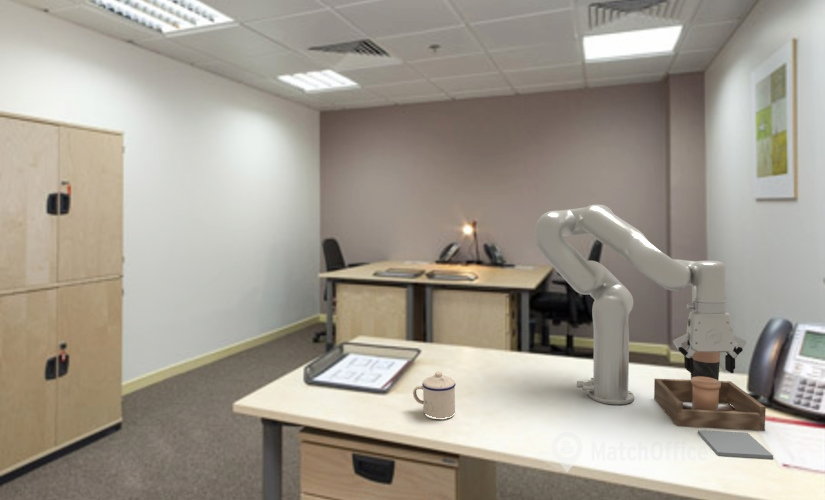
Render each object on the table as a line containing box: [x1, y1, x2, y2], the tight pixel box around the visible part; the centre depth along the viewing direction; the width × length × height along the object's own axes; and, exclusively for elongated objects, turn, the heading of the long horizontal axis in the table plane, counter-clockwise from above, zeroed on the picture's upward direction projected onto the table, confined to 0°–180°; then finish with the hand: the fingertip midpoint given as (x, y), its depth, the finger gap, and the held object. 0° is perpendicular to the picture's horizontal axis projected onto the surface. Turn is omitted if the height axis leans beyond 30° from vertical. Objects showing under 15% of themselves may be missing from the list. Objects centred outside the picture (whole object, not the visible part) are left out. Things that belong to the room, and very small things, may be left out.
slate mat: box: [697, 429, 774, 460], centre depth 111 cm, size 11×11×1 cm
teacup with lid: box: [412, 371, 456, 418], centre depth 132 cm, size 12×9×12 cm
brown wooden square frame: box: [653, 378, 767, 432], centre depth 128 cm, size 20×18×6 cm
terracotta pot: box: [690, 376, 721, 411], centre depth 128 cm, size 7×7×9 cm
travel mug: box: [690, 351, 721, 381], centre depth 147 cm, size 8×8×20 cm
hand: (709, 371), depth 127 cm, fingers open, 9 cm apart
